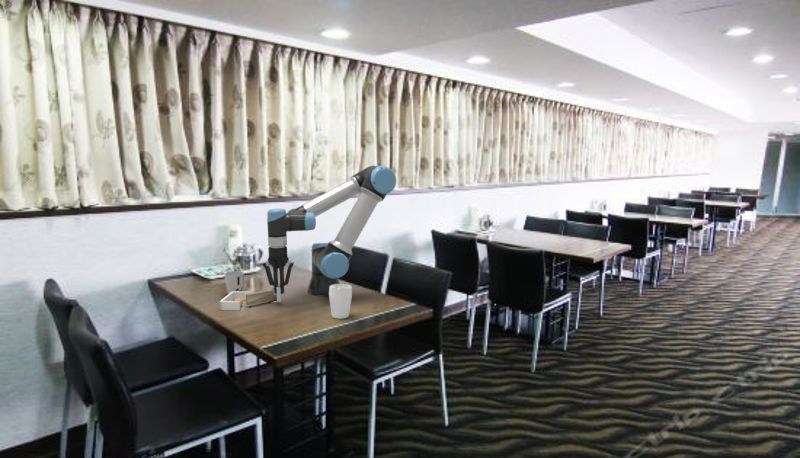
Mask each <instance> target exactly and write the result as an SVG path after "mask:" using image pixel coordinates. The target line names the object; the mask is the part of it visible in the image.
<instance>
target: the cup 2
mask: <svg viewBox="0 0 800 458" xmlns="http://www.w3.org/2000/svg"><path fill="white" fill-rule="evenodd" d="M328 297H329V298H328V299H329V305H330V306H329V307H330V311H331V317H332V318H334V319H338V320H340V319H341V320H342V319H347V318H349V317H350V309H351V303H352V297H353V286H352V285H351V284H347V283H340V284H334V285H331V286H330V287H329V296H328Z"/></svg>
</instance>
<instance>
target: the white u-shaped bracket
mask: <svg viewBox="0 0 800 458" xmlns="http://www.w3.org/2000/svg"><path fill="white" fill-rule="evenodd" d="M250 293H251V291H242V292H241V291H232V292H230V293H229V294H228V293H227V295H226V296H225V297H223V298H221V300H220V301H219V302H218V303H219V307H218V308H219V309H218V310H219V311H238V312H239V311H241V306H240V301H234V300H235V299H237V298H240V299H242V301H246V294H250Z"/></svg>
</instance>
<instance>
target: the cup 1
mask: <svg viewBox="0 0 800 458" xmlns="http://www.w3.org/2000/svg"><path fill="white" fill-rule="evenodd" d="M244 276H245V272H244V271H242V270H241V271H240V270H232V271H231V270H230V271H227V272H224V282H225V286H226V287H225V288H226V292H227V295H228V294H229V293H230V292H232V291H241V292H243V288H244V287H243V286H244V280H245V279H244Z"/></svg>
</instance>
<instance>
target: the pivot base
mask: <svg viewBox="0 0 800 458" xmlns="http://www.w3.org/2000/svg"><path fill="white" fill-rule="evenodd" d="M281 302H283V300H282V301H281ZM281 302H277V300H272V301H268V302H267V303H270V304H279V303H281Z"/></svg>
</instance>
